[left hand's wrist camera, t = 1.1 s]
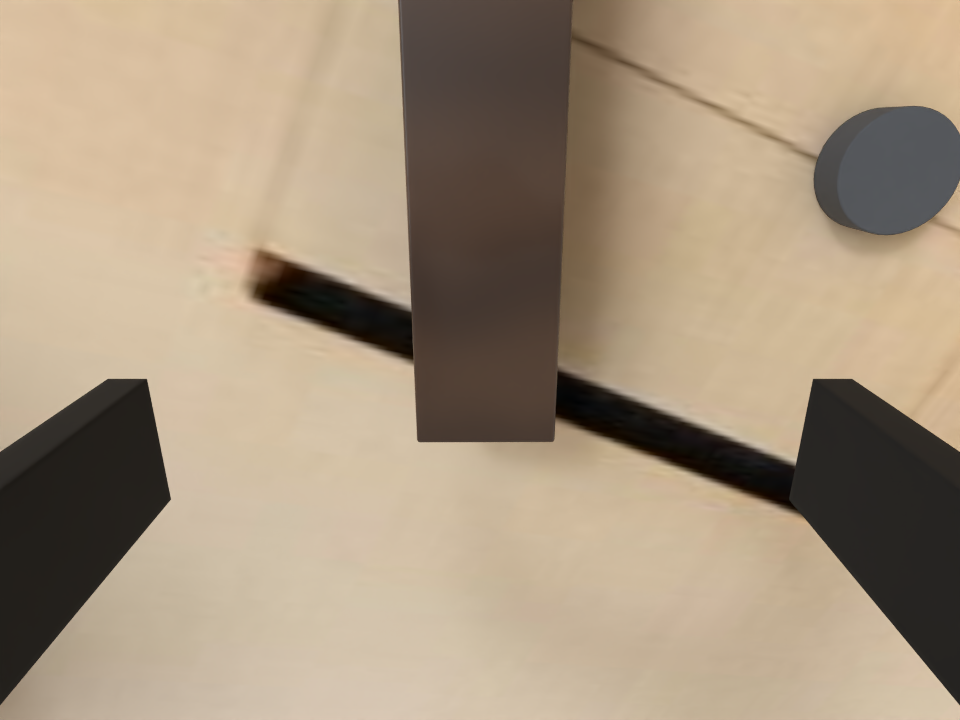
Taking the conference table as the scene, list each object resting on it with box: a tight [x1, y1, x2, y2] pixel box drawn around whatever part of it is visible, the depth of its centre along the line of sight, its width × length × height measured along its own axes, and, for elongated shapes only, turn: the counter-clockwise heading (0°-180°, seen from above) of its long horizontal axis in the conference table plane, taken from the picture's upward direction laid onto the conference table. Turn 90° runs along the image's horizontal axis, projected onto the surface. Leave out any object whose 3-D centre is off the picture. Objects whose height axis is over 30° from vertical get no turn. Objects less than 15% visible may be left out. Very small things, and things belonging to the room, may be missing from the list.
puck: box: [814, 106, 960, 235], centre depth 26 cm, size 5×5×2 cm
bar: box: [398, 0, 573, 442], centre depth 22 cm, size 24×5×8 cm, turn 0°
